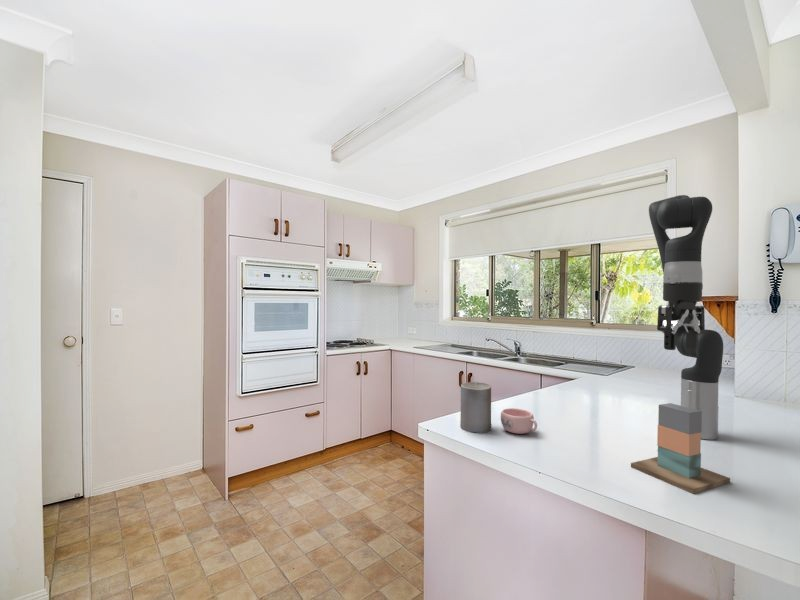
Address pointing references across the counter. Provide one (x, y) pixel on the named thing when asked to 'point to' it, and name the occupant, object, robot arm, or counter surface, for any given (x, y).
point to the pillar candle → (475, 407)
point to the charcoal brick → (680, 418)
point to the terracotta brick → (679, 441)
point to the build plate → (679, 479)
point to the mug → (517, 420)
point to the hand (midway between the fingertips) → (680, 349)
